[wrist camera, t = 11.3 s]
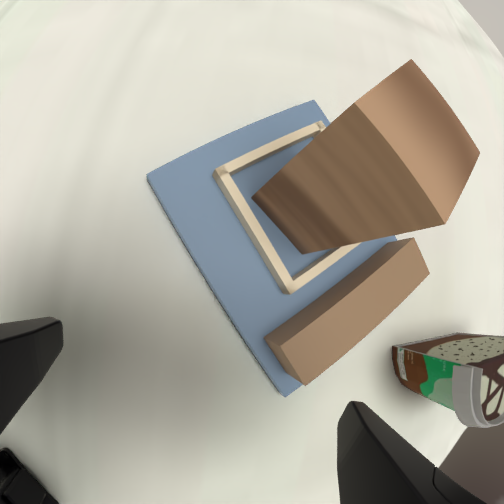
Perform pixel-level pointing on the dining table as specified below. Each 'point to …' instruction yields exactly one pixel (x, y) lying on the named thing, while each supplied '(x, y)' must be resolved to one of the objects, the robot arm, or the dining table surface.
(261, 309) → the blueprint board
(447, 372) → the food container
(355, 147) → the pillar
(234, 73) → the dining table surface
